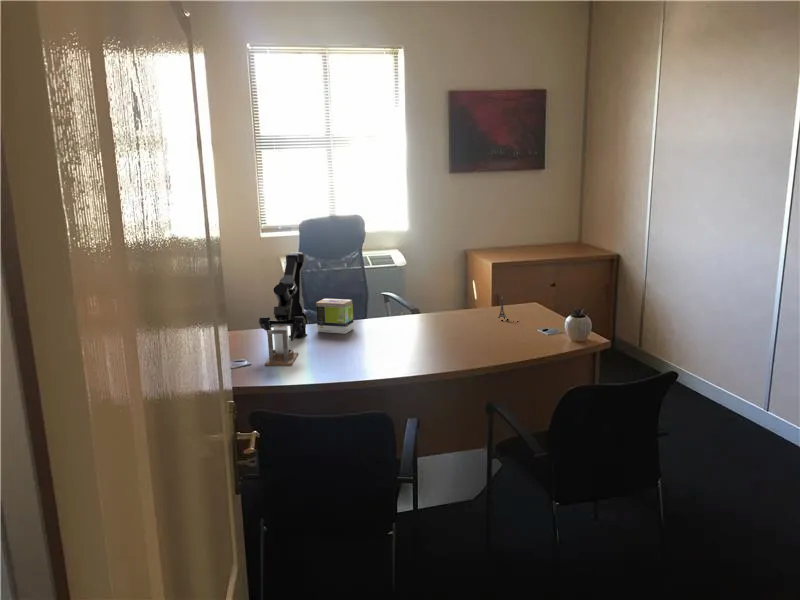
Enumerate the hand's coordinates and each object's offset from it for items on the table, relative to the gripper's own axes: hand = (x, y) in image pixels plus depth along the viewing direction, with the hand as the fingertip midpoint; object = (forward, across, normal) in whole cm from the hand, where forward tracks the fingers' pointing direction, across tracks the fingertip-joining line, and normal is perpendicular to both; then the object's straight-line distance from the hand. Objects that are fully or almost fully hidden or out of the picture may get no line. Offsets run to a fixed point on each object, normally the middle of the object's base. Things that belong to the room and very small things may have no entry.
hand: (280, 340), depth 256 cm
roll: (+4, 0, +6) cm, 8 cm away
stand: (+5, 0, +7) cm, 9 cm away
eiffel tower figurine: (-36, +98, +50) cm, 116 cm away
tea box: (-25, +16, +38) cm, 48 cm away
